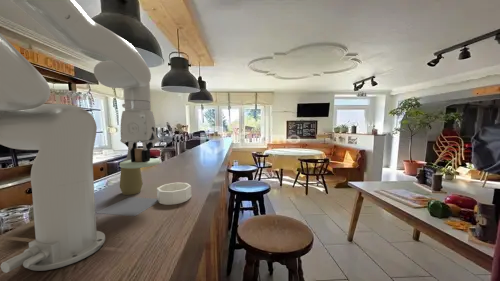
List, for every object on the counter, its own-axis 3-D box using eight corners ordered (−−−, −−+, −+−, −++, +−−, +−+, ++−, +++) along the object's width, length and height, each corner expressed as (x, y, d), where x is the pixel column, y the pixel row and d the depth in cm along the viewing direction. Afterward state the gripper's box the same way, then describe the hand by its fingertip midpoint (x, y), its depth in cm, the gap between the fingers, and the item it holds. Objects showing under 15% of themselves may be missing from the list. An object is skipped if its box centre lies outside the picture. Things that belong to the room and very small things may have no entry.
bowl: (181, 207, 66) (180, 192, 66) (151, 205, 68) (150, 191, 67) (195, 195, 77) (194, 183, 76) (169, 194, 78) (168, 182, 78)
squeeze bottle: (135, 197, 75) (133, 150, 74) (114, 197, 75) (112, 150, 74) (147, 190, 83) (145, 148, 82) (128, 190, 83) (126, 148, 82)
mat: (135, 218, 58) (135, 216, 58) (94, 214, 60) (94, 213, 60) (163, 200, 72) (163, 198, 72) (129, 198, 74) (128, 196, 74)
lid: (146, 168, 60) (145, 151, 60) (110, 167, 61) (109, 150, 61) (166, 161, 72) (166, 146, 72) (136, 160, 73) (135, 146, 73)
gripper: (106, 106, 62) (109, 163, 64) (154, 105, 60) (156, 164, 62) (123, 108, 70) (126, 159, 71) (167, 107, 68) (169, 159, 69)
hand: (140, 160), depth 67 cm, fingers closed on lid, 3 cm apart
